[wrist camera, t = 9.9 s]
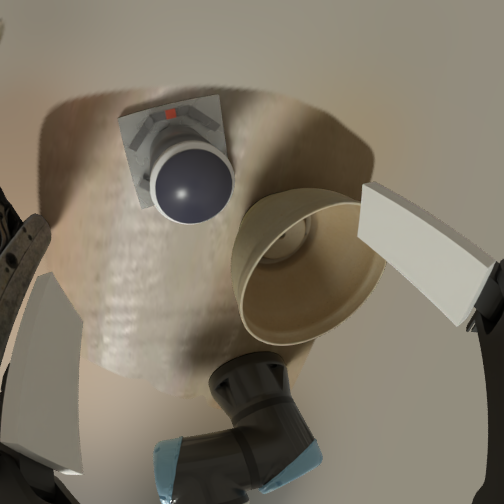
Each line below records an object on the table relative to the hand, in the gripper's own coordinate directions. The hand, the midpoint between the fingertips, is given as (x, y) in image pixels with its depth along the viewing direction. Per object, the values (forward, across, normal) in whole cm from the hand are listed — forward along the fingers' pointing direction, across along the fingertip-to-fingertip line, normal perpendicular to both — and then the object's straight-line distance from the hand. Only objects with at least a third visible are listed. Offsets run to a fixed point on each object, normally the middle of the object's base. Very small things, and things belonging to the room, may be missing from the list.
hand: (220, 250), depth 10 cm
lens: (+16, 0, 0) cm, 16 cm away
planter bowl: (+18, -10, +11) cm, 23 cm away
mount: (+17, 0, 0) cm, 17 cm away
